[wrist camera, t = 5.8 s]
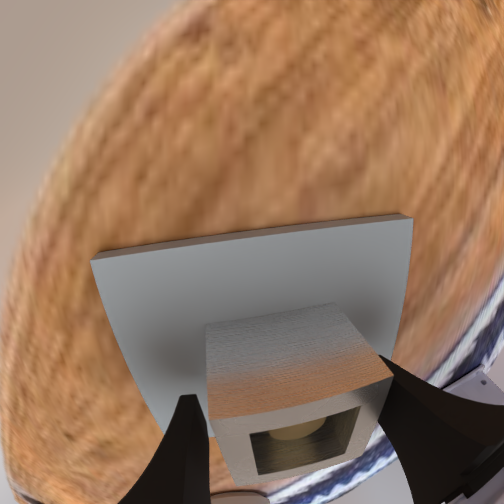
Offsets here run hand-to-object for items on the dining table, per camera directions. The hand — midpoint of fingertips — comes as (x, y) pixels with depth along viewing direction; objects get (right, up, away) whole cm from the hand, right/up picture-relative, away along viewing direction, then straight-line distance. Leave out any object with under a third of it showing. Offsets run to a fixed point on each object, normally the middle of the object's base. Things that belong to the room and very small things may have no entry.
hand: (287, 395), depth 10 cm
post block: (0, +1, +3) cm, 3 cm away
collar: (0, +1, +2) cm, 2 cm away
